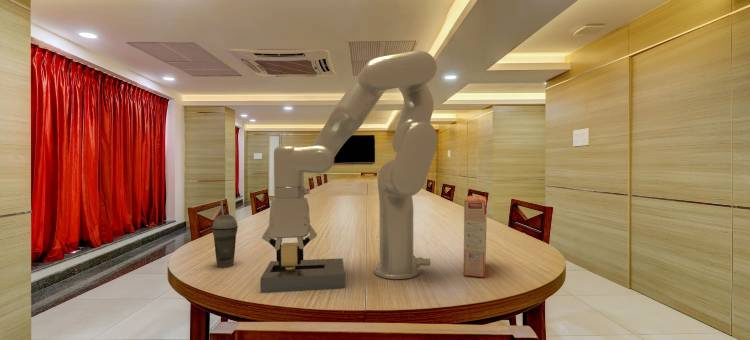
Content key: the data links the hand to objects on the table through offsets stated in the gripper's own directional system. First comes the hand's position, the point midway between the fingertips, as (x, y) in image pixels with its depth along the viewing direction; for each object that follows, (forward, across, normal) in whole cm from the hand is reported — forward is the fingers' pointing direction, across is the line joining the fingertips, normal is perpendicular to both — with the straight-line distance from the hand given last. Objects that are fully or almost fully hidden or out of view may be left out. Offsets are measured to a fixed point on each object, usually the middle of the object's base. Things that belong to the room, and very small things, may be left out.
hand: (290, 262), depth 87 cm
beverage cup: (+5, +21, -17) cm, 28 cm away
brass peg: (+5, 0, 0) cm, 5 cm away
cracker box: (+5, -52, -2) cm, 52 cm away
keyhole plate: (+5, -4, 0) cm, 6 cm away
